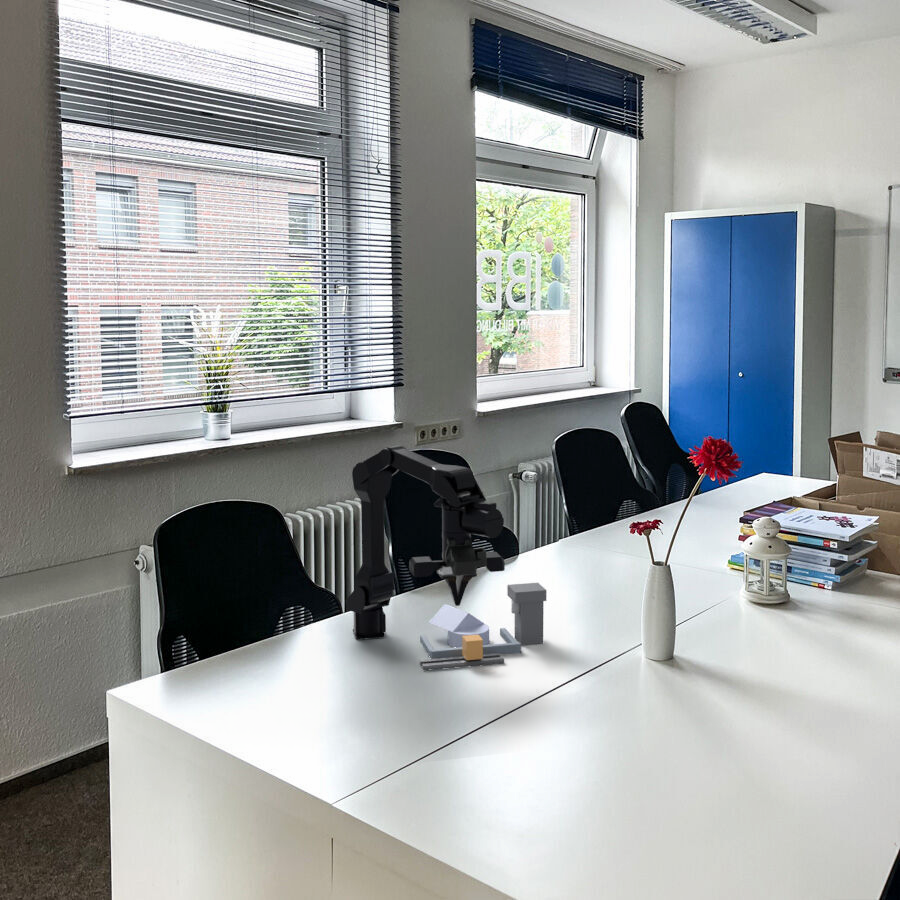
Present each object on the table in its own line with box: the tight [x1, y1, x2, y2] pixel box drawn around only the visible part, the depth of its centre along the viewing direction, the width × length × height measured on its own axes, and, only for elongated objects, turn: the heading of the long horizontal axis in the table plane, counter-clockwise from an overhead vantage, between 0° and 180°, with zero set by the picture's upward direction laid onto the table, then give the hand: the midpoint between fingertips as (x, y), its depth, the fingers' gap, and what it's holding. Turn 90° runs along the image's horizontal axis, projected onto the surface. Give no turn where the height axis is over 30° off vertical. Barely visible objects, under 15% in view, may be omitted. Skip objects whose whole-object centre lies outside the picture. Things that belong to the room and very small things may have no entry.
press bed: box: [419, 582, 547, 659], centre depth 215 cm, size 26×12×12 cm, turn 103°
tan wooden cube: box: [462, 635, 483, 660], centre depth 205 cm, size 4×4×5 cm
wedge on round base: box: [428, 603, 490, 648], centre depth 219 cm, size 9×7×13 cm
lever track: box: [419, 653, 505, 671], centre depth 205 cm, size 17×4×1 cm, turn 103°
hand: (457, 605), depth 203 cm, fingers closed
